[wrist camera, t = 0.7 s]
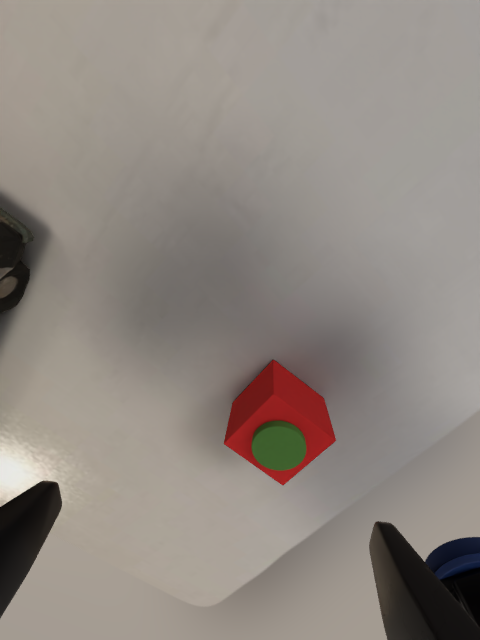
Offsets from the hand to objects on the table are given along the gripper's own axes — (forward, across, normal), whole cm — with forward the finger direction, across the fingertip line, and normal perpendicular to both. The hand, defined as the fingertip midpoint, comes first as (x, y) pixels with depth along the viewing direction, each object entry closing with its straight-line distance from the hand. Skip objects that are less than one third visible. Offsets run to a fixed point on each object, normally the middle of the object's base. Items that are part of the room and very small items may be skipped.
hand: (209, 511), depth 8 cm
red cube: (+13, -2, +5) cm, 14 cm away
